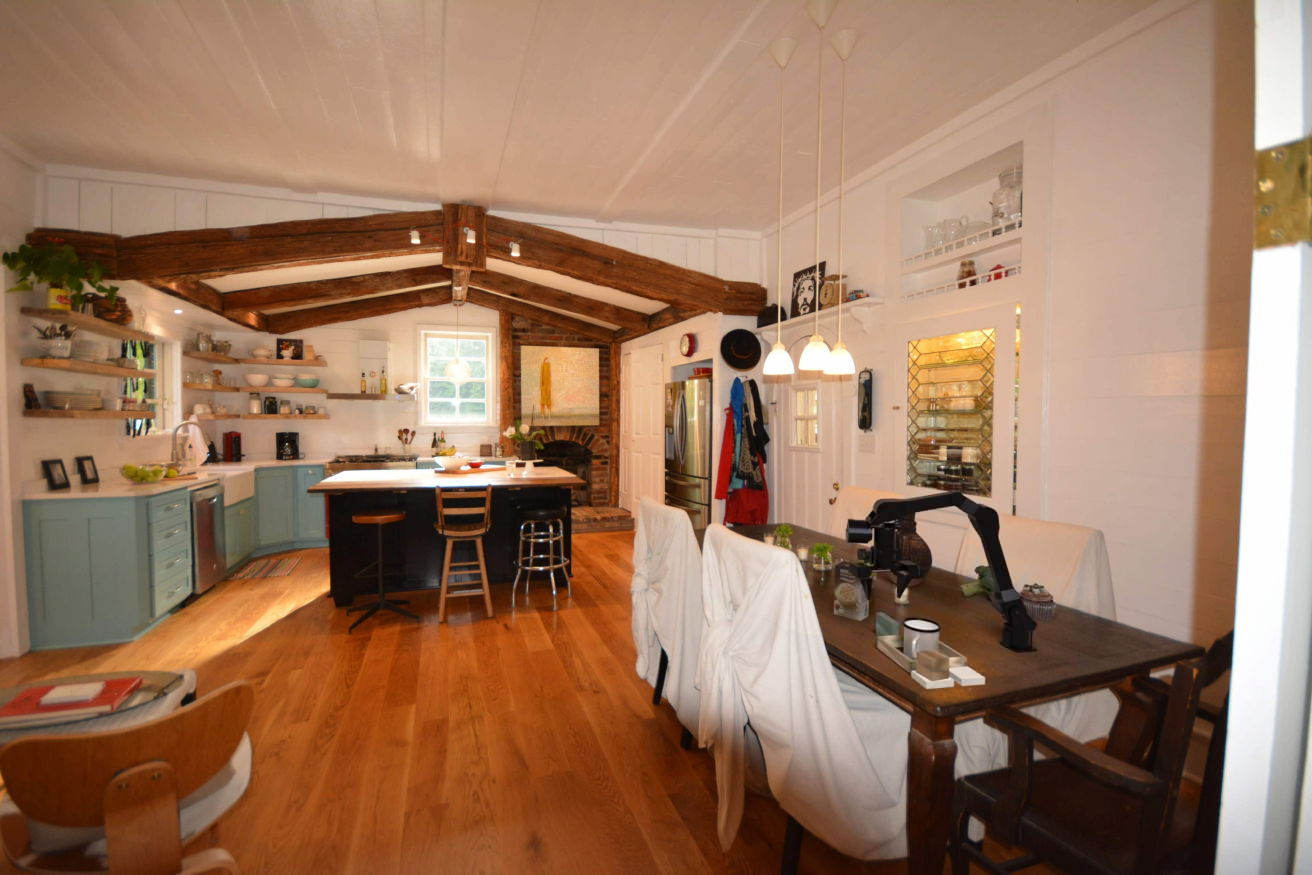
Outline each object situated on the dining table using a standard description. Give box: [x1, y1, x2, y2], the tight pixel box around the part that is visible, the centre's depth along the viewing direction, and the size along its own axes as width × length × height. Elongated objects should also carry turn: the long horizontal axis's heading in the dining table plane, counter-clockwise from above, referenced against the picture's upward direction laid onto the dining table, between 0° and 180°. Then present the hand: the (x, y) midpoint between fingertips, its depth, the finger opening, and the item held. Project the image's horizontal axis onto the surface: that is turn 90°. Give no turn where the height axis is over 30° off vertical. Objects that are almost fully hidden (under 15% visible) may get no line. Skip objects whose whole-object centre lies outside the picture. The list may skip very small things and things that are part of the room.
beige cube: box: [916, 649, 949, 681], centre depth 138 cm, size 5×5×5 cm
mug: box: [901, 616, 942, 660], centre depth 150 cm, size 12×10×9 cm
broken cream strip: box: [910, 666, 986, 690], centre depth 138 cm, size 15×6×2 cm, turn 99°
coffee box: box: [833, 560, 870, 622], centre depth 182 cm, size 9×6×16 cm
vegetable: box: [960, 564, 995, 602], centre depth 198 cm, size 12×13×15 cm
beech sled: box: [875, 611, 968, 675], centre depth 154 cm, size 15×24×6 cm, turn 9°
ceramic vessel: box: [885, 513, 933, 587], centre depth 215 cm, size 21×18×30 cm
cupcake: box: [1019, 582, 1057, 622], centre depth 181 cm, size 10×10×10 cm
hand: (883, 598), depth 164 cm, fingers open, 9 cm apart
